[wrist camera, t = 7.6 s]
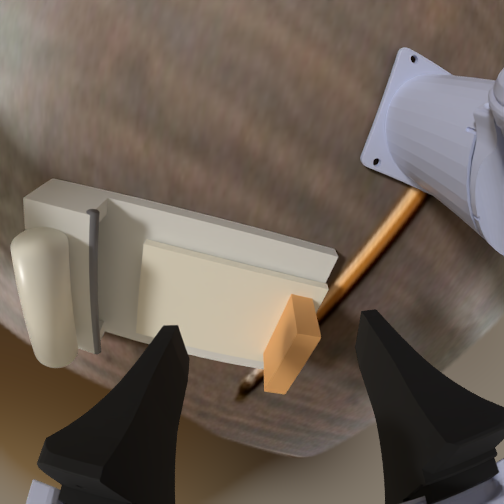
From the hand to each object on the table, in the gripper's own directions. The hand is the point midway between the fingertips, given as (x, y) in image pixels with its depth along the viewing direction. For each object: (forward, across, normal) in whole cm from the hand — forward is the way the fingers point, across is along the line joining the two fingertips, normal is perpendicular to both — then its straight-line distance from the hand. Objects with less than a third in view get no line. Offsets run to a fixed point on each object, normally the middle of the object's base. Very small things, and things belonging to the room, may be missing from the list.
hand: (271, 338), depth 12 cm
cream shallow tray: (+8, +3, +5) cm, 10 cm away
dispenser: (+9, +7, +4) cm, 12 cm away
